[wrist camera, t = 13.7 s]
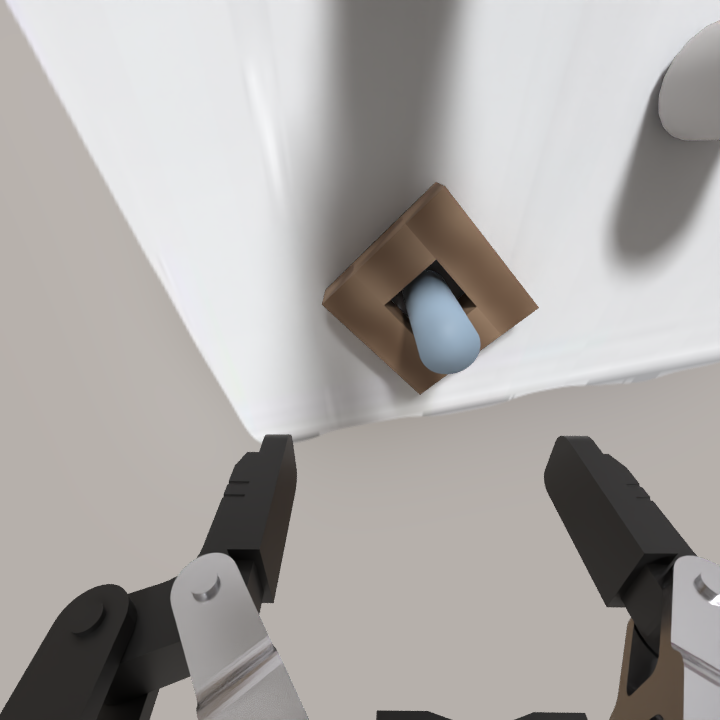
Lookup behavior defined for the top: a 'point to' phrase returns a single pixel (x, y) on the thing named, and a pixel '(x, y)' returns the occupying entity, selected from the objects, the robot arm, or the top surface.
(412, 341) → the socket block
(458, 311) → the peg
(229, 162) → the top surface
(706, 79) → the can
